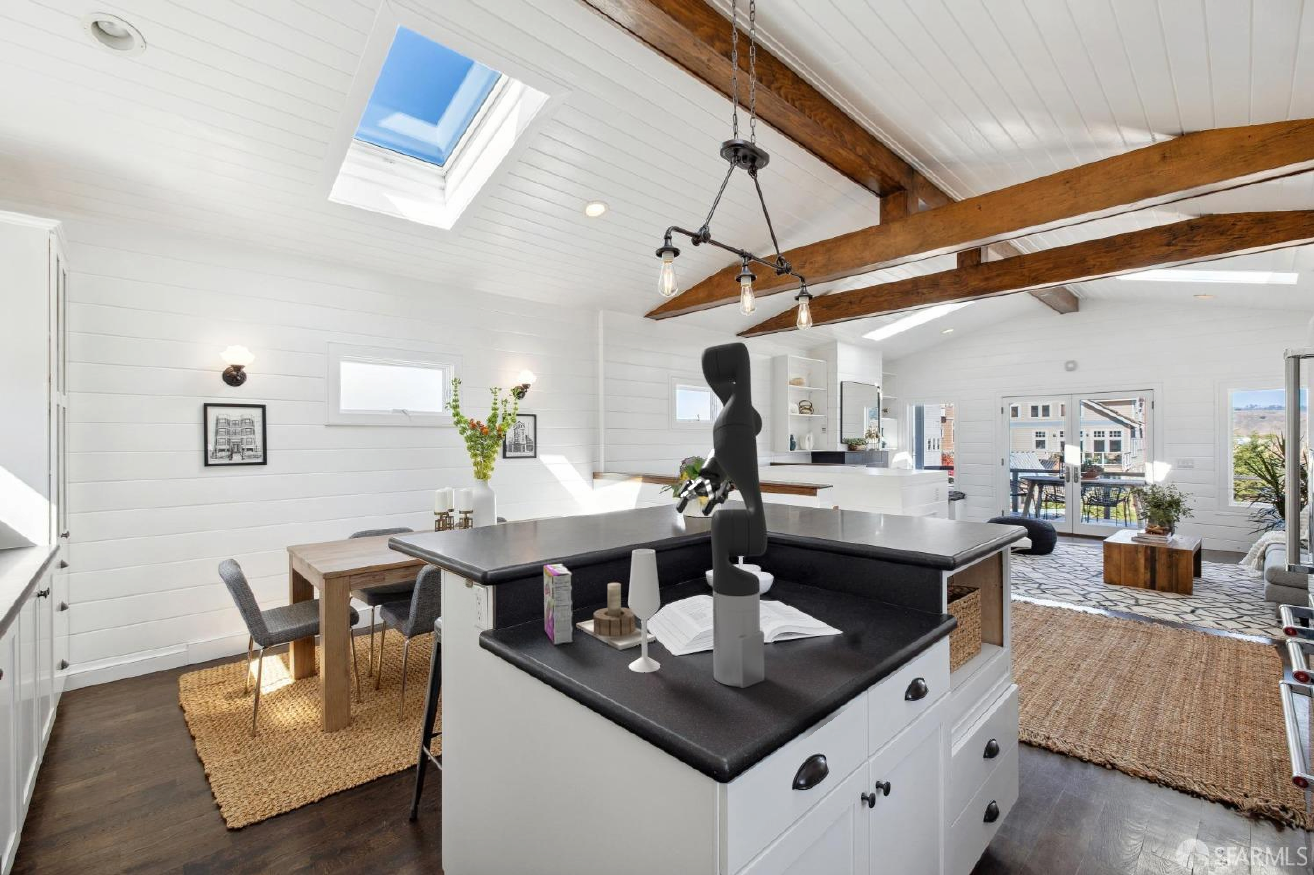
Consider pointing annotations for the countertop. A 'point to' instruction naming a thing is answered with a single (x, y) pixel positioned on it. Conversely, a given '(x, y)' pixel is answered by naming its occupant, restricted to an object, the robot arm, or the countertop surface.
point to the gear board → (615, 629)
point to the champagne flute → (644, 600)
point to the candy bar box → (558, 603)
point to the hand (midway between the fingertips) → (691, 512)
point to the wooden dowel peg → (614, 599)
